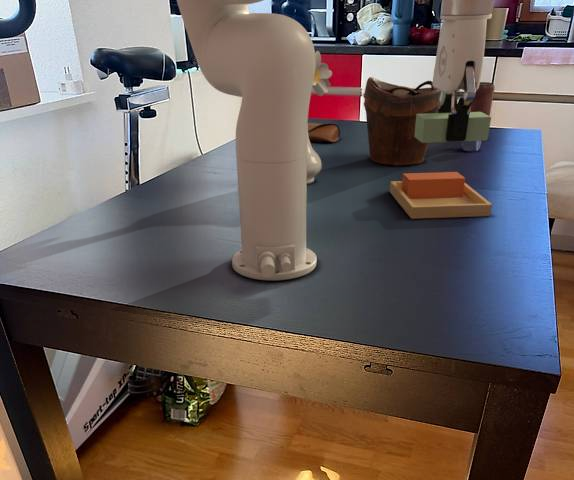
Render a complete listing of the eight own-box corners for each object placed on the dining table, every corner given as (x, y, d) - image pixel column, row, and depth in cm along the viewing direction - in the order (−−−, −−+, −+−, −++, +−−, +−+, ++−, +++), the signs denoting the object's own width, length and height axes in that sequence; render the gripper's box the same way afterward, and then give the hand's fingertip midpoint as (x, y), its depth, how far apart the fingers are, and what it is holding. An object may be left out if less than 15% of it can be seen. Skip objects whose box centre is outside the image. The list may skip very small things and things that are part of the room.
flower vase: (333, 171, 133) (337, 45, 119) (322, 193, 118) (325, 52, 104) (278, 169, 135) (276, 46, 121) (260, 190, 120) (255, 52, 106)
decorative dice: (475, 152, 147) (478, 135, 145) (460, 150, 149) (462, 134, 147) (479, 149, 150) (482, 132, 148) (464, 147, 152) (467, 131, 150)
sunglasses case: (271, 139, 162) (274, 114, 161) (277, 148, 168) (280, 124, 168) (333, 142, 157) (337, 117, 157) (338, 151, 164) (341, 127, 164)
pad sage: (487, 140, 95) (491, 116, 92) (421, 142, 94) (424, 119, 92) (477, 134, 99) (480, 111, 97) (414, 136, 98) (416, 113, 96)
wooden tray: (490, 216, 104) (492, 204, 103) (411, 218, 103) (412, 207, 102) (459, 189, 119) (460, 179, 118) (389, 191, 118) (390, 181, 117)
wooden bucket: (454, 164, 137) (466, 79, 127) (380, 172, 131) (387, 84, 121) (414, 149, 151) (422, 72, 141) (345, 156, 145) (349, 76, 135)
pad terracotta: (462, 197, 112) (465, 178, 110) (407, 198, 112) (409, 179, 110) (454, 190, 116) (457, 171, 114) (401, 191, 116) (402, 173, 114)
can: (458, 137, 163) (466, 82, 155) (475, 135, 165) (484, 81, 157) (472, 141, 158) (481, 84, 150) (490, 139, 160) (500, 83, 153)
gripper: (427, 7, 93) (415, 128, 103) (460, 9, 79) (442, 149, 89) (472, 6, 93) (456, 126, 103) (513, 7, 79) (490, 147, 89)
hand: (450, 135), depth 96 cm, fingers closed on pad sage, 5 cm apart
